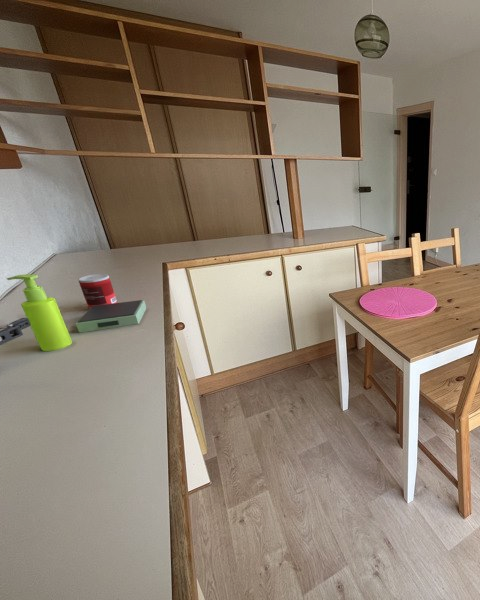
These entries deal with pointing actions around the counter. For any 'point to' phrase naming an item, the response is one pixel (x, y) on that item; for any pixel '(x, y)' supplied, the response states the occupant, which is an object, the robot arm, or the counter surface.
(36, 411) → the counter surface
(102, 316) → the scale
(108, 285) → the canned food
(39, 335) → the soap dispenser
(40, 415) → the counter surface
